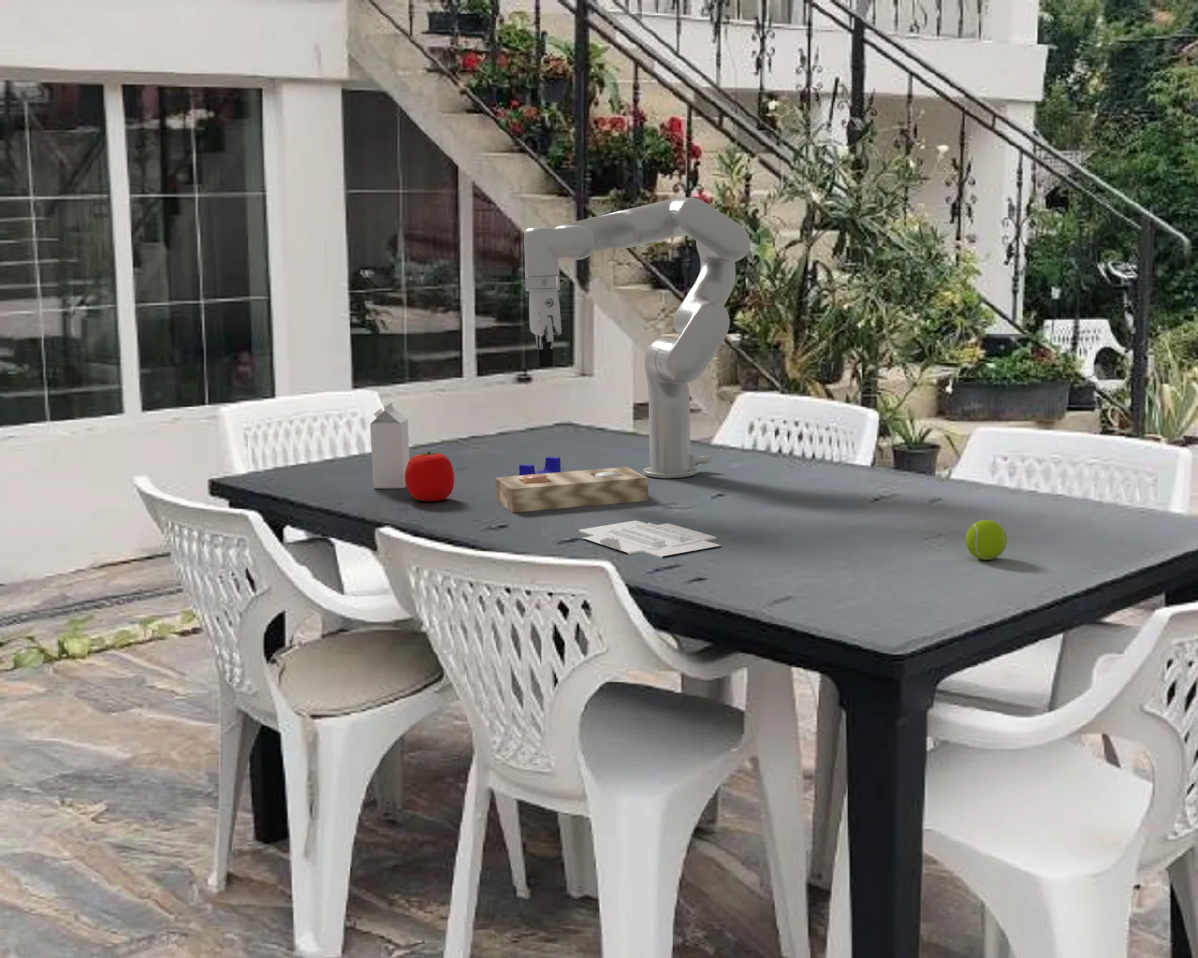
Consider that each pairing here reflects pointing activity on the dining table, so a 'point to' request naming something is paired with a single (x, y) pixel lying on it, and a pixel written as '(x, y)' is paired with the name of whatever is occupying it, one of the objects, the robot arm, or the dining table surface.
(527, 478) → the peach rounded piece
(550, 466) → the cable clip
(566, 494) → the housing
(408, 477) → the tomato
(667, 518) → the dining table surface
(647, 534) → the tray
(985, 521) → the tennis ball
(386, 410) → the milk carton
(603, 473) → the white domed cylinder
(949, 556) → the dining table surface
